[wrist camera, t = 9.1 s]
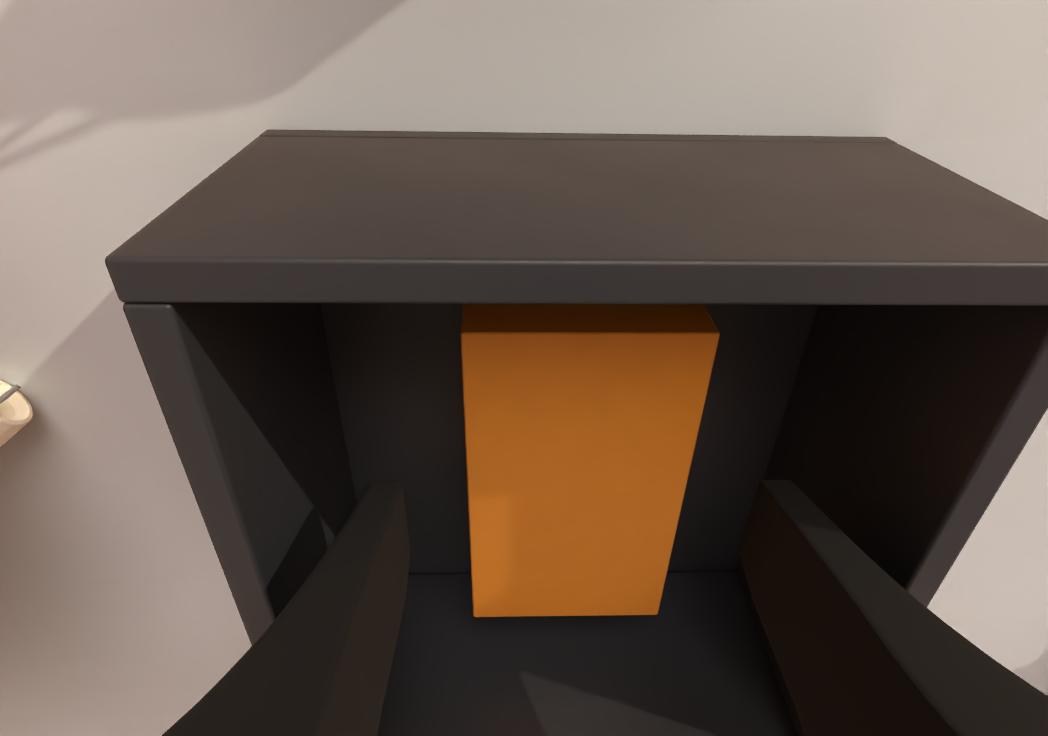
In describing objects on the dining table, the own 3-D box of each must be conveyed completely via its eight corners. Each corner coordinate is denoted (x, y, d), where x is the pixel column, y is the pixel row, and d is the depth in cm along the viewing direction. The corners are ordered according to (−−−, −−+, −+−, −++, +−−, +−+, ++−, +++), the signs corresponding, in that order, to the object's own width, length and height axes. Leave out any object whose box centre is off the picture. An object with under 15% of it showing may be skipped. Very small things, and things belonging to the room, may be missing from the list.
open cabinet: (745, 568, 20) (825, 777, 15) (355, 572, 20) (304, 788, 15) (886, 136, 13) (1139, 263, 8) (265, 128, 12) (100, 257, 7)
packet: (680, 260, 13) (721, 333, 11) (636, 521, 18) (658, 615, 15) (468, 259, 13) (460, 333, 11) (477, 523, 18) (473, 618, 15)
